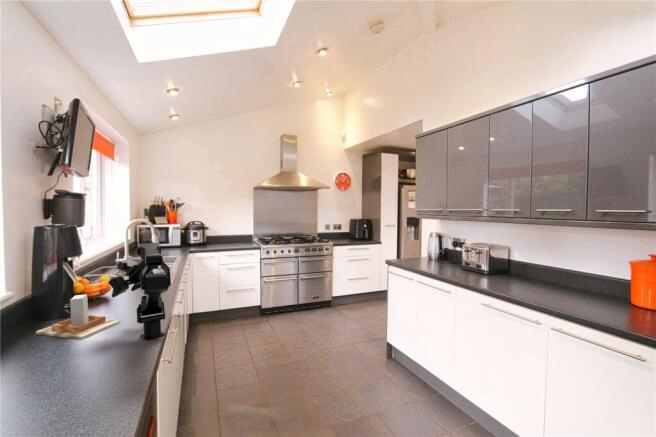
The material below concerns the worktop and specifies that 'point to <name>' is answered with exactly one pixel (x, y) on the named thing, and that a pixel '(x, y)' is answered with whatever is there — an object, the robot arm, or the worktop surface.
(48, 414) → the worktop surface
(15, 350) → the worktop surface
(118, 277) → the robot arm
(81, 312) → the skincare box
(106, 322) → the socket stand
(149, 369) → the worktop surface
